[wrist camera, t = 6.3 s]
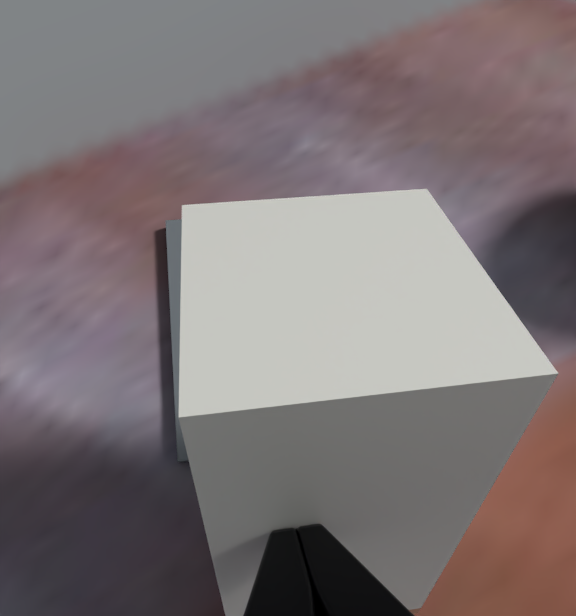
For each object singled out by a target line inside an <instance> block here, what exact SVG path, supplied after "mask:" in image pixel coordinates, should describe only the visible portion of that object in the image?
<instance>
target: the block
mask: <svg viewBox="0 0 576 616" xmlns="http://www.w3.org/2000/svg"><path fill="white" fill-rule="evenodd" d="M557 375H558V372H557V371H556V370H555V368H554V367H553V365H552V364H551V363H550V361H549V360H548V358H547V357H546V356H545V354H544V353H543V351H542V350H541V349H540V347H539V346H538V344H537V343H536V342H535V340H534V339H533V337H532V336H531V335H530V333H529V332H528V330H527V329H526V328H525V326H524V325H523V323H522V322H521V321H520V319H519V318H518V316H517V315H516V314H515V312H514V311H513V309H512V308H511V307H510V305H509V304H508V302H507V301H506V300H505V298H504V297H503V295H502V294H501V293H500V291H499V290H498V288H497V287H496V285H495V284H494V283H493V281H492V280H491V278H490V277H489V276H488V274H487V273H486V271H485V270H484V269H483V267H482V266H481V264H480V263H479V262H478V260H477V259H476V257H475V256H474V255H473V253H472V252H471V250H470V249H469V248H468V246H467V245H466V243H465V242H464V241H463V239H462V238H461V236H460V235H459V234H458V232H457V231H456V229H455V228H454V227H453V225H452V224H451V222H450V221H449V220H448V218H447V217H446V215H445V214H444V213H443V211H442V210H441V208H440V207H439V206H438V204H437V203H436V201H435V200H434V199H433V197H432V196H431V194H430V193H429V191H428V190H427V189H417V190H402V191H387V192H372V193H357V194H342V195H327V196H312V197H297V198H282V199H267V200H252V201H237V202H222V203H207V204H192V205H182V237H181V298H180V359H179V422H180V426H181V430H182V434H183V439H184V443H185V447H186V451H187V455H188V460H189V464H190V468H191V472H192V477H193V481H194V485H195V489H196V494H197V498H198V502H199V506H200V511H201V515H202V519H203V523H204V527H205V532H206V536H207V540H208V544H209V549H210V553H211V557H212V561H213V566H214V570H215V574H216V578H217V583H218V587H219V591H220V595H221V599H222V604H223V608H224V612H225V616H243V615H244V612H245V609H246V606H247V603H248V600H249V597H250V594H251V590H252V587H253V584H254V581H255V578H256V575H257V572H258V569H259V566H260V562H261V559H262V556H263V553H264V550H265V547H266V544H267V541H268V537H269V535H270V533H271V532H272V531H273V530H278V529H284V528H291V527H292V528H295V530H296V531H297V528H298V527H299V526H304V525H311V524H322V525H323V526H324V527H325V528H326V529H327V530H328V531H329V532H330V533H331V534H332V535H333V536H334V537H335V538H336V539H337V540H338V541H339V542H340V543H341V544H342V545H343V546H344V547H345V548H346V549H347V550H348V551H350V552H351V553H352V554H353V555H354V556H355V557H356V558H357V559H358V560H359V561H360V562H361V563H362V564H363V565H364V566H365V567H366V568H367V569H368V570H369V571H370V572H371V573H372V574H373V575H374V576H375V577H376V578H377V579H378V580H379V581H380V582H381V583H382V584H383V585H384V586H385V587H386V588H387V589H388V590H389V591H390V592H391V593H392V594H393V595H394V596H395V597H396V598H397V599H398V600H399V601H400V602H401V603H402V604H403V605H404V606H405V607H406V608H407V609H408V610H409V611H410V612H411V613H412V614H417V613H418V612H419V610H420V609H421V607H422V605H423V603H424V602H425V600H426V598H427V597H428V595H429V593H430V592H431V590H432V588H433V586H434V585H435V583H436V581H437V580H438V578H439V576H440V574H441V573H442V571H443V569H444V568H445V566H446V564H447V563H448V561H449V559H450V557H451V556H452V554H453V552H454V551H455V549H456V547H457V545H458V544H459V542H460V540H461V539H462V537H463V535H464V533H465V532H466V530H467V528H468V527H469V525H470V523H471V522H472V520H473V518H474V516H475V515H476V513H477V511H478V510H479V508H480V506H481V504H482V503H483V501H484V499H485V498H486V496H487V494H488V493H489V491H490V489H491V487H492V486H493V484H494V482H495V481H496V479H497V477H498V475H499V474H500V472H501V470H502V469H503V467H504V465H505V464H506V462H507V460H508V458H509V457H510V455H511V453H512V452H513V450H514V448H515V446H516V445H517V443H518V441H519V440H520V438H521V436H522V435H523V433H524V431H525V429H526V428H527V426H528V424H529V423H530V421H531V419H532V417H533V416H534V414H535V412H536V411H537V409H538V407H539V406H540V404H541V402H542V400H543V399H544V397H545V395H546V394H547V392H548V390H549V388H550V387H551V385H552V383H553V382H554V380H555V378H556V376H557Z"/></svg>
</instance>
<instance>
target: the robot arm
mask: <svg viewBox="0 0 576 616" xmlns="http://www.w3.org/2000/svg"><path fill="white" fill-rule="evenodd" d="M243 616H414V615H413V614H412V613H411V612H410V611H409V610H408V609H407V608H406V607H405V606H404V605H403V604H402V603H401V602H400V601H399V600H398V599H397V598H396V597H395V596H394V595H393V594H392V593H391V592H390V591H389V590H388V589H387V588H386V587H385V586H384V585H383V584H382V583H381V582H380V581H379V580H378V579H377V578H376V577H375V576H374V575H373V574H372V573H371V572H370V571H369V570H368V569H367V568H366V567H365V566H364V565H363V564H362V563H361V562H360V561H359V560H358V559H357V558H356V557H355V556H354V555H353V554H352V553H351V552H350V551H348V550H347V549H346V548H345V547H344V546H343V545H342V544H341V543H340V542H339V541H338V540H337V539H336V538H335V537H334V536H333V535H332V534H331V533H330V532H329V531H328V530H327V529H326V528H325V527H324V526H323V525H322V524H311V525H304V526H299V527H298V528H297V531H296V530H295V528H292V527H291V528H284V529H278V530H273V531H272V532H271V533H270V535H269V537H268V541H267V544H266V547H265V550H264V553H263V556H262V559H261V562H260V566H259V569H258V572H257V575H256V578H255V581H254V584H253V587H252V590H251V594H250V597H249V600H248V603H247V606H246V609H245V612H244V615H243Z"/></svg>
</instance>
